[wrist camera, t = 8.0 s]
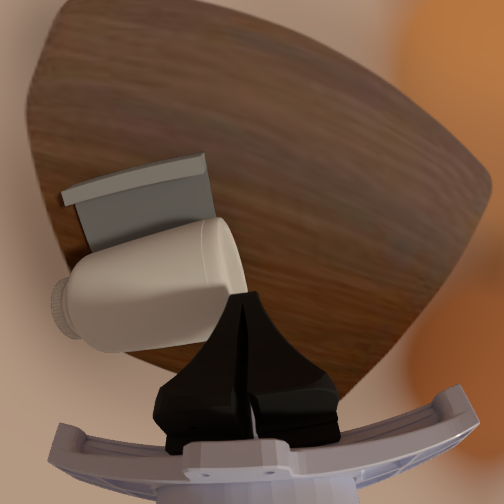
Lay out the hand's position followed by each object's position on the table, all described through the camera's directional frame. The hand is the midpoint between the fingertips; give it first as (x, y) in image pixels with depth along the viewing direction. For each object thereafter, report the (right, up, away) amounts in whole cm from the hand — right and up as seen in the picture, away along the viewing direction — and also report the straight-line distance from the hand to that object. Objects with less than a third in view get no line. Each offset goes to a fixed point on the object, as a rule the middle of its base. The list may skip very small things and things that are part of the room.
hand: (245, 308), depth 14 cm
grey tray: (-8, +3, +8) cm, 12 cm away
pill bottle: (0, +1, +5) cm, 5 cm away
